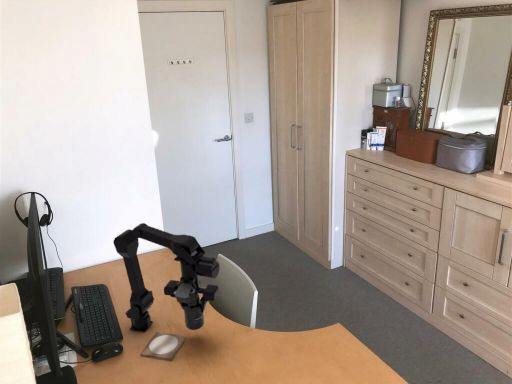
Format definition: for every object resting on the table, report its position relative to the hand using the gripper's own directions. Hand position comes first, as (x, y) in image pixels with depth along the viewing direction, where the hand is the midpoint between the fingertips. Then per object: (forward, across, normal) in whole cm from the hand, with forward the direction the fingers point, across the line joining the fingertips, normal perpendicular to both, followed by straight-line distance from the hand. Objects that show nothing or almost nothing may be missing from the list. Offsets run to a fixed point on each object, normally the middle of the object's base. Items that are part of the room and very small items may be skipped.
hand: (193, 310), depth 158 cm
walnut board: (+13, -10, -6) cm, 17 cm away
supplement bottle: (+6, 0, 0) cm, 6 cm away
